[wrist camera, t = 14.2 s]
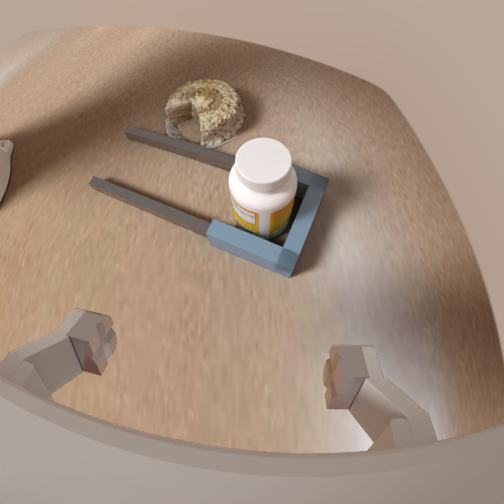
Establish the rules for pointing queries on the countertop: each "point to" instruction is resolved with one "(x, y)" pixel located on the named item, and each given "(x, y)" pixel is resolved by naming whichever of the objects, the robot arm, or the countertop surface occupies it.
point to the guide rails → (152, 205)
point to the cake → (205, 111)
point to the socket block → (268, 252)
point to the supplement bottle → (262, 187)
